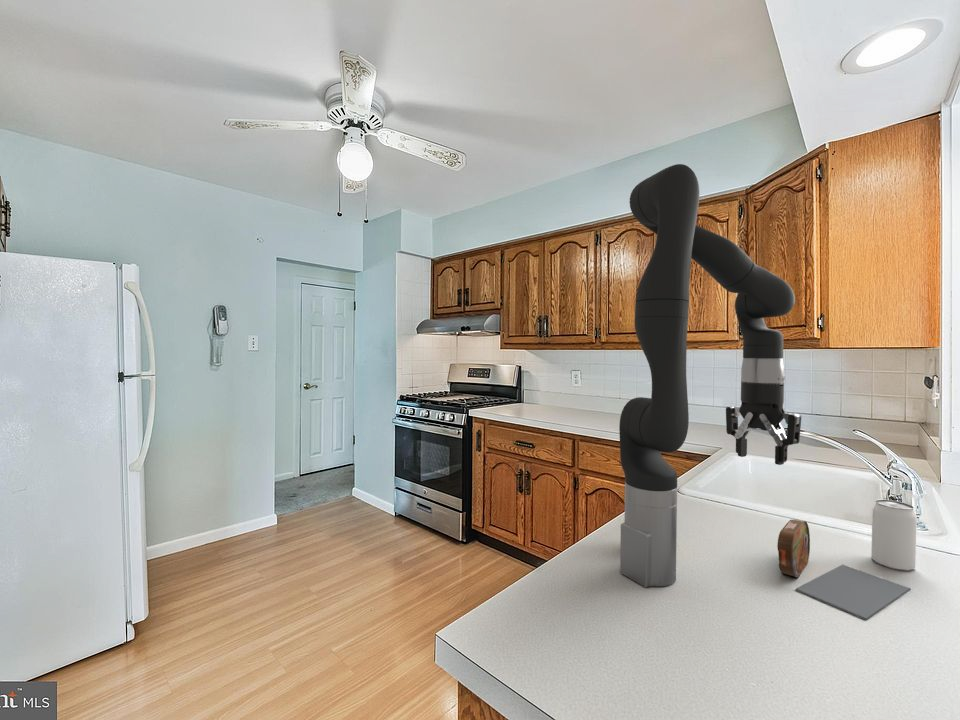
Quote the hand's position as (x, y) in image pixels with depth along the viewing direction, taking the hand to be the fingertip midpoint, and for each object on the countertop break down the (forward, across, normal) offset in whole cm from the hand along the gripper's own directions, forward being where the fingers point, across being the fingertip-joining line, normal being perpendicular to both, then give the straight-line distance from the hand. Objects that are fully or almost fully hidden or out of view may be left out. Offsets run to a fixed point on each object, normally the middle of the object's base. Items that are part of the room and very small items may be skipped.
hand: (760, 459), depth 92 cm
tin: (+20, +7, 0) cm, 21 cm away
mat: (+20, +16, 0) cm, 25 cm away
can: (+20, +16, +19) cm, 32 cm away
